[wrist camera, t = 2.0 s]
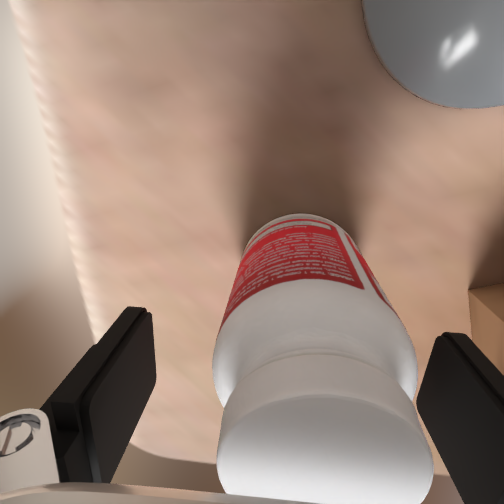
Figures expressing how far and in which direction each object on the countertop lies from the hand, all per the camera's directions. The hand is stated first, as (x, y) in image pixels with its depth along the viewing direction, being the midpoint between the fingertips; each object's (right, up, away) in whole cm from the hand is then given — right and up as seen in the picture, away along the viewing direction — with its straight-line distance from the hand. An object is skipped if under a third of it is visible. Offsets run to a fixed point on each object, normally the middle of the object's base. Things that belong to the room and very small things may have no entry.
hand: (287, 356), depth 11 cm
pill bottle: (+1, +3, +7) cm, 7 cm away
